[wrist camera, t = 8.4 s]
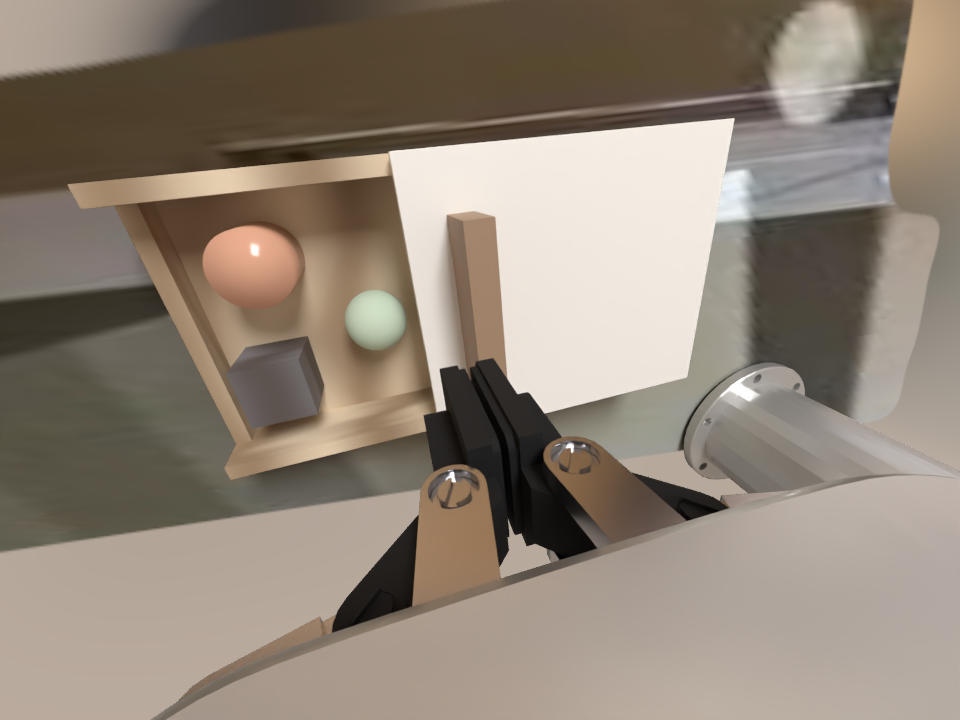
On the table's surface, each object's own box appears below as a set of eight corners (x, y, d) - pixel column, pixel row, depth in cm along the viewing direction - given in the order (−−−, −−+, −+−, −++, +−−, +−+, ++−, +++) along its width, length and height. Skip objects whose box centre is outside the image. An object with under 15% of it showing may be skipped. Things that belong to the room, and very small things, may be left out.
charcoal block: (307, 335, 21) (298, 359, 18) (324, 384, 22) (318, 414, 19) (245, 347, 20) (226, 374, 17) (267, 396, 21) (252, 429, 19)
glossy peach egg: (308, 232, 18) (298, 241, 16) (300, 297, 20) (290, 316, 17) (229, 212, 17) (203, 218, 14) (226, 282, 18) (201, 300, 16)
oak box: (477, 149, 19) (501, 142, 16) (497, 377, 26) (518, 408, 22) (131, 184, 16) (67, 184, 13) (251, 434, 23) (230, 479, 19)
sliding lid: (720, 120, 18) (800, 107, 15) (677, 371, 24) (726, 401, 21) (388, 152, 15) (394, 143, 11) (439, 431, 21) (453, 477, 18)
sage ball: (409, 290, 21) (416, 307, 18) (398, 341, 22) (402, 364, 19) (351, 277, 20) (348, 292, 17) (341, 331, 21) (338, 354, 18)
